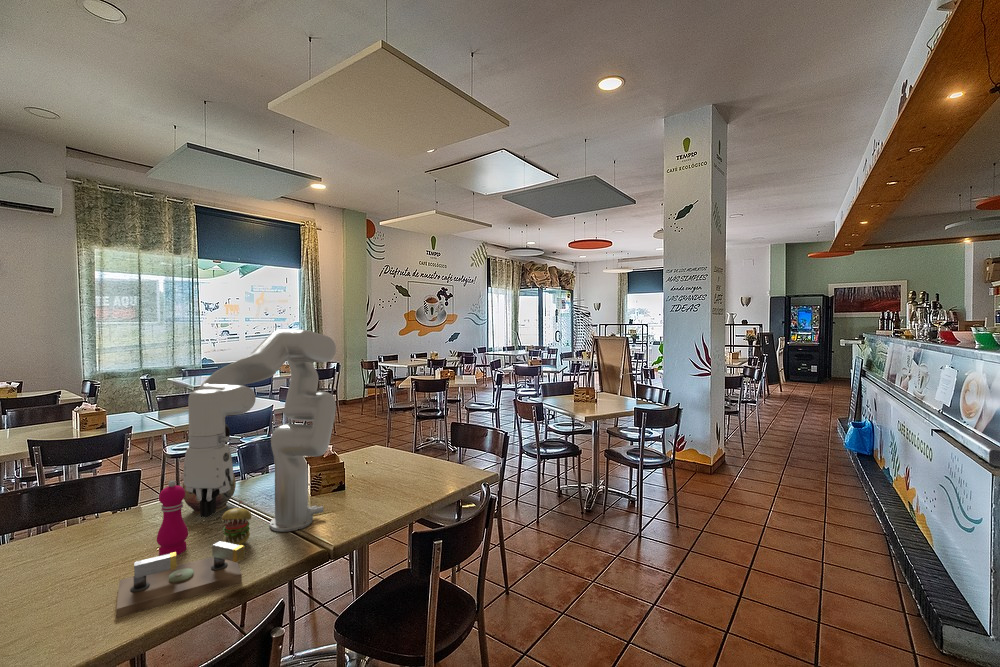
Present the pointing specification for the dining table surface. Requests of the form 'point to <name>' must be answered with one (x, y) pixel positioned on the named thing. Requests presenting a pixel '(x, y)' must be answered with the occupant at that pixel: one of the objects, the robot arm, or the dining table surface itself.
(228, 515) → the hamburger
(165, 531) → the pepper mill
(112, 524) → the dining table surface
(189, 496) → the ceramic jug
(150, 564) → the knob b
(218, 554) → the gold-tipped grey bar
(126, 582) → the level plate
